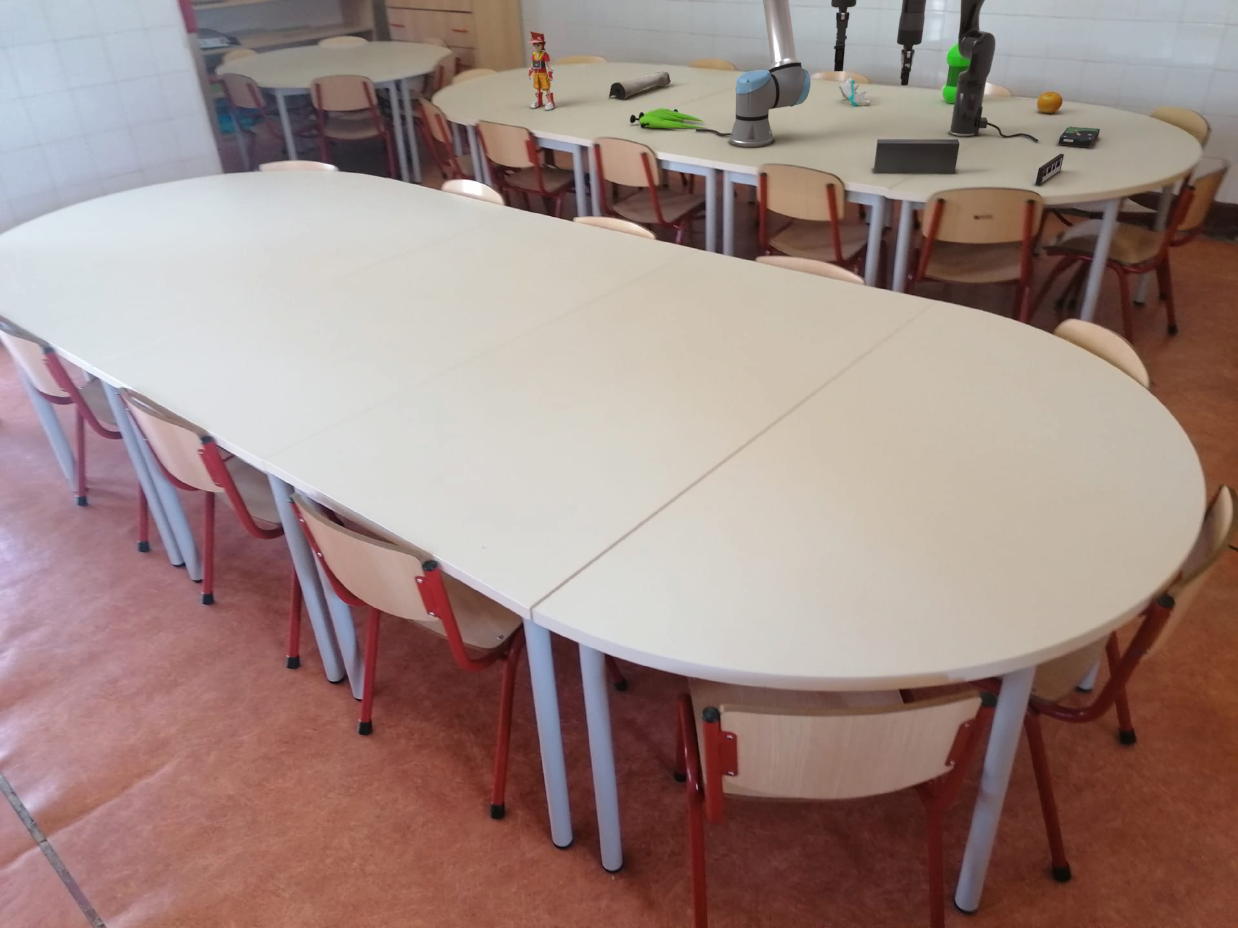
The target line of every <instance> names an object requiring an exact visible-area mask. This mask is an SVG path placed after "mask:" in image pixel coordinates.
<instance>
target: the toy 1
mask: <svg viewBox="0 0 1238 928" xmlns="http://www.w3.org/2000/svg"><path fill="white" fill-rule="evenodd" d="M529 33H530V35H531V36H528V37H527V38H528V39H529V40H528V41H527V43H529V44H530V43H531V44H532V48H533V50H534V51H533V52H532V55H531V58H530V59H531V63H530V66H528V74H527V75H528V76H527V77H528V79H529V80H531V75H532V74H533V84H532V85H533V86H532V87H533V88H534V89H535V90H536V92H534V95H535V97H536V100H535V101H533V102H531V105H530V108H531V109H535V108H538V107H542V106H544V101H543V100H544V99H543V95H544V92H546V94H545V97H546V99H547V103H546V104H545V106H544V110H546V111H549V110H553V109H554V107H555V106H556V105H555V99H554V92H551V91H550V90H551V86H552V84H551V82H552V81H553V80H554V77H553V73H554V71H555V70H554V69H552V68H551V63H550V61H551V59H550V58H551V57H550V54H549V53H548V52H547V50H546V48H545V46H546V44H547V41H545V35H544V33H543V32H542V33H539V32H535V31H529Z"/></svg>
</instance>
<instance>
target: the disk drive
mask: <svg viewBox="0 0 1238 928" xmlns="http://www.w3.org/2000/svg"><path fill="white" fill-rule="evenodd" d="M1100 131H1101V129H1100V128H1092V127H1077V126H1067V127H1066V128H1065V130H1064V131H1063V132H1062V133H1061V135H1060V136H1059V139H1058V143H1057V144H1058V145H1061V146H1071V147H1079V148H1080V147H1081V148H1092V147H1093V145H1094V143H1095V142H1096V141H1097V139H1098V137H1099V135H1100Z"/></svg>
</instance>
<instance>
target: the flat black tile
mask: <svg viewBox="0 0 1238 928" xmlns="http://www.w3.org/2000/svg"><path fill="white" fill-rule="evenodd" d="M1064 157H1065V153H1059V154H1058V155H1056V156H1055V157H1052V159H1051V160H1049V161H1047V162H1045V164H1042V165H1041V166H1039V167H1038V169H1037V175H1036V179H1035V186H1040V185H1042V183H1044V182H1045V181H1047V180H1048V179H1049V178H1051V177H1052V176H1054V175H1055V174H1056V173H1058V172H1060V171H1061V170H1062V165H1063V161H1064Z"/></svg>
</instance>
